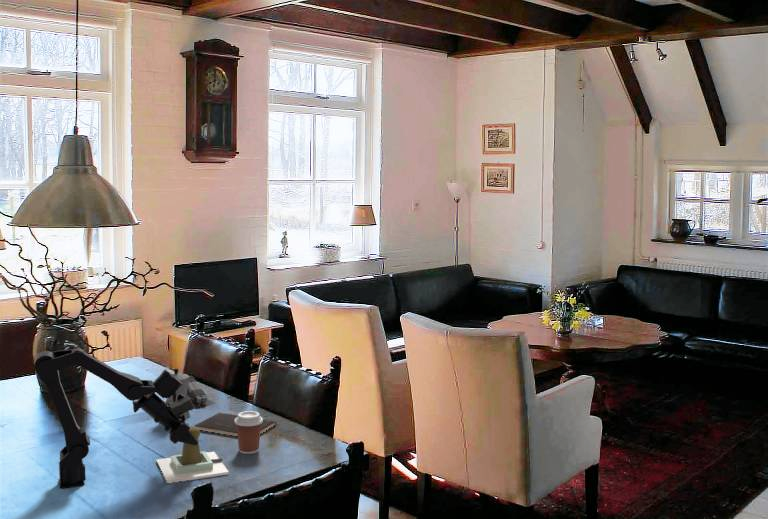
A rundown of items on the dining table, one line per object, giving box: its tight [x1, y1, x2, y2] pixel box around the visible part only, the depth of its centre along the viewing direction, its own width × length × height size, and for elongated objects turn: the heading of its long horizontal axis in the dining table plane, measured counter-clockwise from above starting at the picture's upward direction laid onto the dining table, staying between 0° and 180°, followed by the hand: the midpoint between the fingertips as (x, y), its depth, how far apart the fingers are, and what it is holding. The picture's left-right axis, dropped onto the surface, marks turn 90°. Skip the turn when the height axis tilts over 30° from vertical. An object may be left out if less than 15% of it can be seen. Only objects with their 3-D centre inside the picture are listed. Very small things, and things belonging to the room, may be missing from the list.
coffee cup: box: [235, 410, 263, 455], centre depth 261 cm, size 9×9×12 cm
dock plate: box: [155, 450, 230, 484], centre depth 246 cm, size 18×18×3 cm
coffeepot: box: [165, 368, 191, 420], centre depth 291 cm, size 15×9×18 cm, turn 9°
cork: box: [181, 426, 201, 465], centre depth 245 cm, size 6×6×11 cm
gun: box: [186, 375, 208, 406], centre depth 315 cm, size 4×20×10 cm, turn 31°
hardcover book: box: [193, 412, 277, 437], centre depth 283 cm, size 16×23×2 cm
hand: (195, 441), depth 245 cm, fingers closed on cork, 5 cm apart
